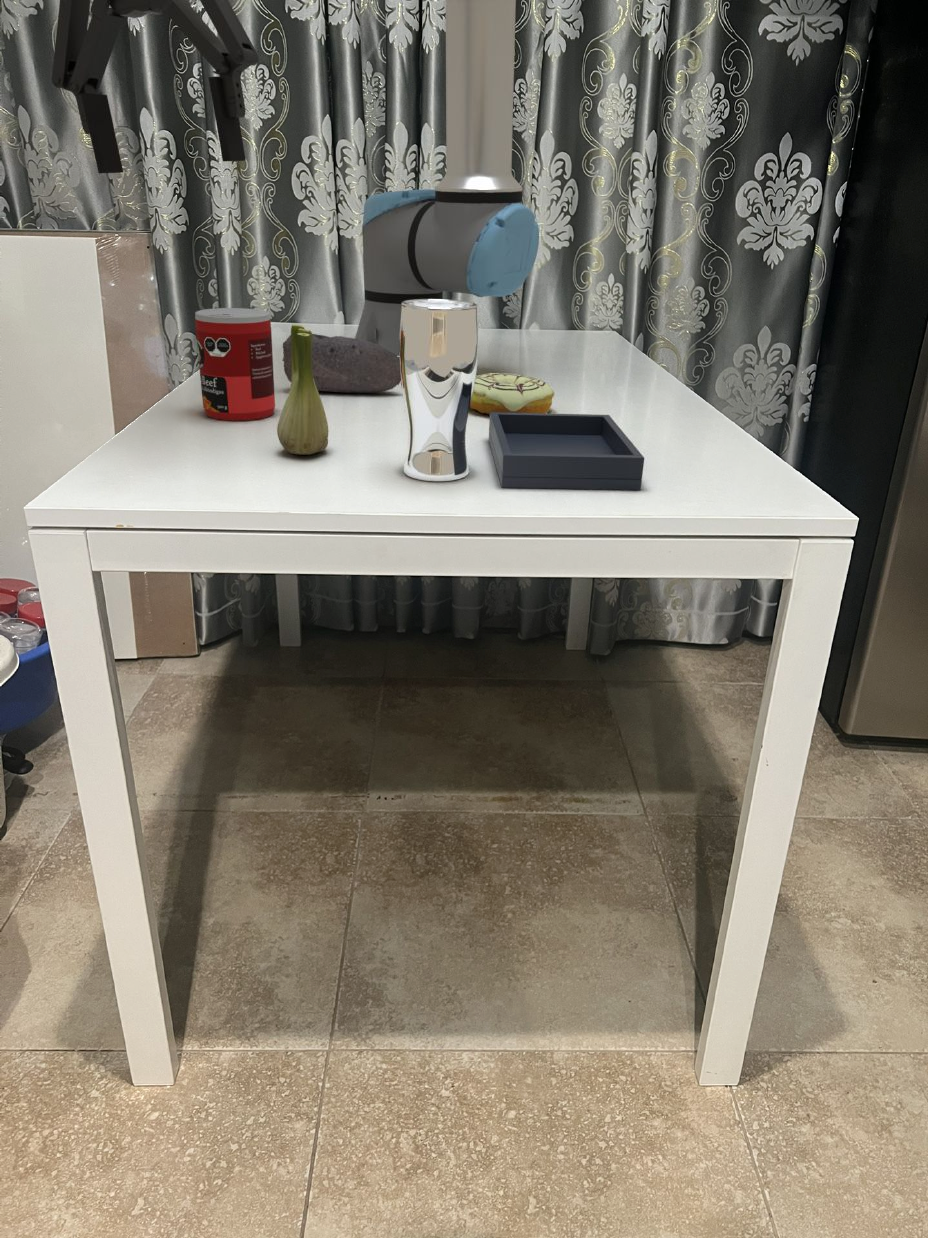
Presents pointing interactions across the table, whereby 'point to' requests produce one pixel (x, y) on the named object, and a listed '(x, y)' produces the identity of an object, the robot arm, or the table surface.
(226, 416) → the canned food
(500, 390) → the decorated donut
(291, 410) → the fennel bulb
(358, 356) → the perforated stone tool
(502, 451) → the dark grey tray
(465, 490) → the table surface
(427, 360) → the beer glass
